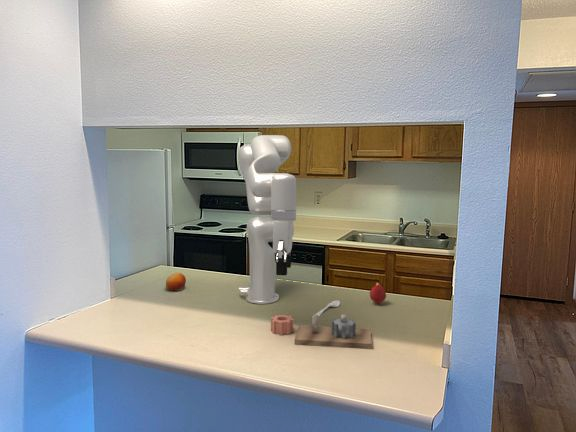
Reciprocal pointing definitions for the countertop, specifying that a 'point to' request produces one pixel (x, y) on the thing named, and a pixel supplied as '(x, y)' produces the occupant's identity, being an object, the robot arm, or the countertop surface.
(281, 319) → the pink gear
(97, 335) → the countertop surface
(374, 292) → the onion
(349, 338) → the gear board
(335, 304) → the spoon
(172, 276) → the fruit
